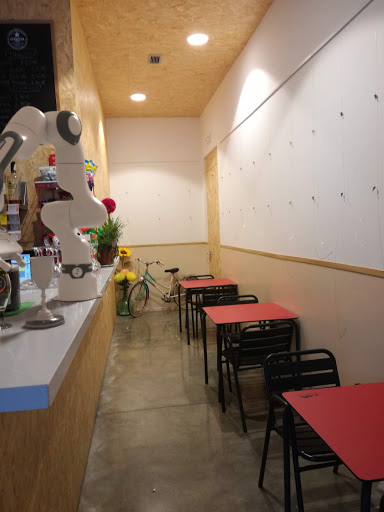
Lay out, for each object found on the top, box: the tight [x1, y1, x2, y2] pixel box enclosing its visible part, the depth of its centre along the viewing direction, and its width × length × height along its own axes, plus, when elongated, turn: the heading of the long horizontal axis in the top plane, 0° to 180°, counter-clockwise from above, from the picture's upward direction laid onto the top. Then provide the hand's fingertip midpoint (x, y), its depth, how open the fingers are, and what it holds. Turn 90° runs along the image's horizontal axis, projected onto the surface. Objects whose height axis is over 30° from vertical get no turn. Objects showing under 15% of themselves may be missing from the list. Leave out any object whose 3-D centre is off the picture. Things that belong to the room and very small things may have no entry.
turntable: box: [24, 314, 66, 330], centre depth 111 cm, size 11×11×2 cm
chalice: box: [28, 256, 55, 321], centre depth 111 cm, size 7×7×18 cm
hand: (17, 267), depth 110 cm, fingers open, 8 cm apart
